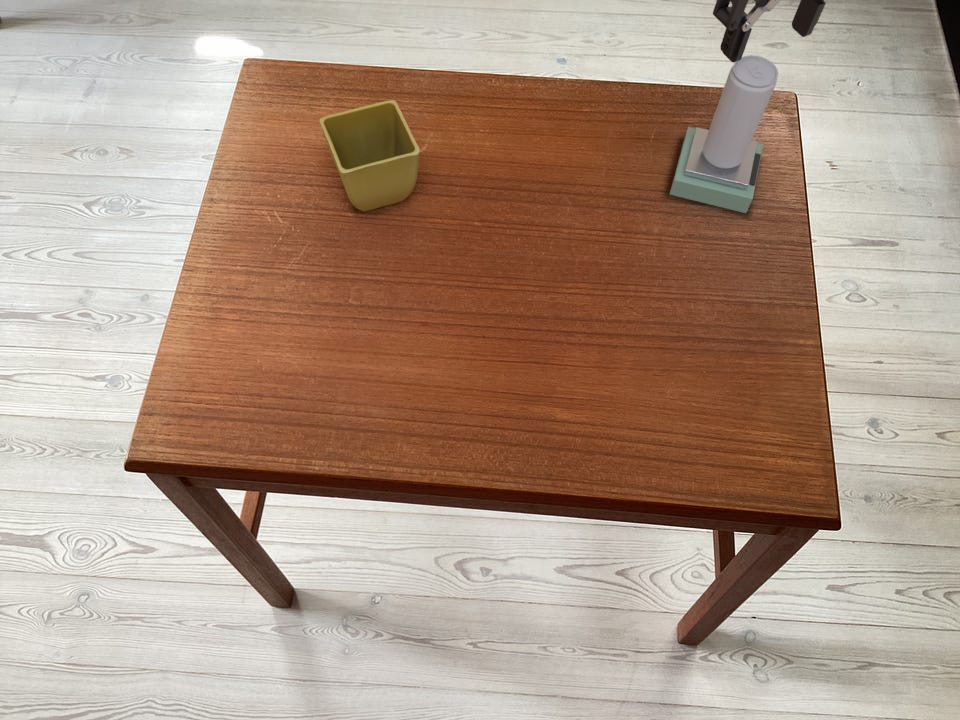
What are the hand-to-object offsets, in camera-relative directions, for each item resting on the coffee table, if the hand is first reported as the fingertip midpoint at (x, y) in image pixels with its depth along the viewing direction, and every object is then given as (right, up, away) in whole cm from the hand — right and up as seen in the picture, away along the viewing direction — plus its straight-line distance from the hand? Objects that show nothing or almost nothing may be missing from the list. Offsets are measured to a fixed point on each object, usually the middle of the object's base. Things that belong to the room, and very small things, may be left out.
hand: (765, 43), depth 76 cm
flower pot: (-40, -12, +14) cm, 44 cm away
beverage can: (0, -8, +13) cm, 15 cm away
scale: (0, -9, +16) cm, 19 cm away
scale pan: (0, -8, +14) cm, 16 cm away
